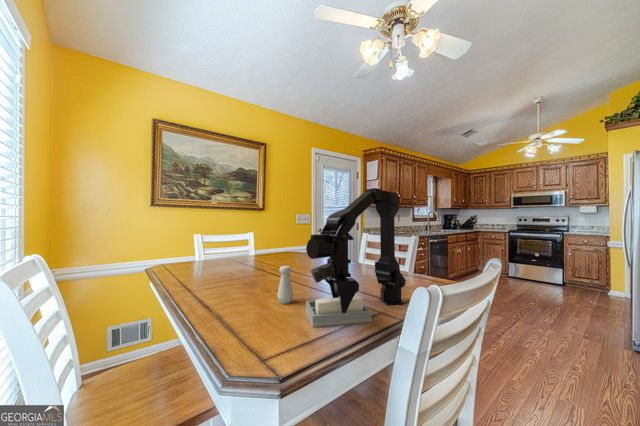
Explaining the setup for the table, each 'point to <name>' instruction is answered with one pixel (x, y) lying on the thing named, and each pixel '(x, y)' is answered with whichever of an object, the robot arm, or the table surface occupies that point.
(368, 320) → the divided grey tray
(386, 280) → the robot arm
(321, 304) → the cream rectangular block
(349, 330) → the table surface
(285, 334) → the table surface
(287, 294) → the salt shaker
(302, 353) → the table surface
